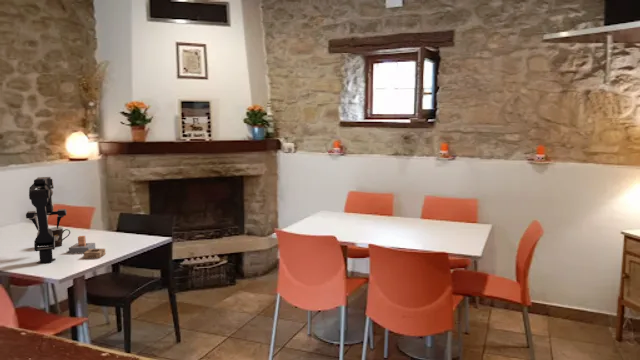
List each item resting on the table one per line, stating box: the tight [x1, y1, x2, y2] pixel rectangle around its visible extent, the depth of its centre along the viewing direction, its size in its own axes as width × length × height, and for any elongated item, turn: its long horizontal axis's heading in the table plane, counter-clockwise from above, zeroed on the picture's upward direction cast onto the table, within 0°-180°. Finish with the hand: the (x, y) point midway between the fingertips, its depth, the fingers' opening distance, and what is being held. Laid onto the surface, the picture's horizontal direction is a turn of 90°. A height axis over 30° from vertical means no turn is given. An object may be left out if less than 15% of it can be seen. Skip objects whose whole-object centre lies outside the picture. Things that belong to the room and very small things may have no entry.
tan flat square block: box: [83, 248, 106, 260], centre depth 267 cm, size 8×8×3 cm
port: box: [68, 242, 96, 254], centre depth 278 cm, size 10×10×3 cm
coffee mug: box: [48, 226, 71, 248], centre depth 288 cm, size 12×9×10 cm
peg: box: [77, 235, 87, 246], centre depth 278 cm, size 3×3×8 cm
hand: (47, 229), depth 272 cm, fingers open, 9 cm apart
